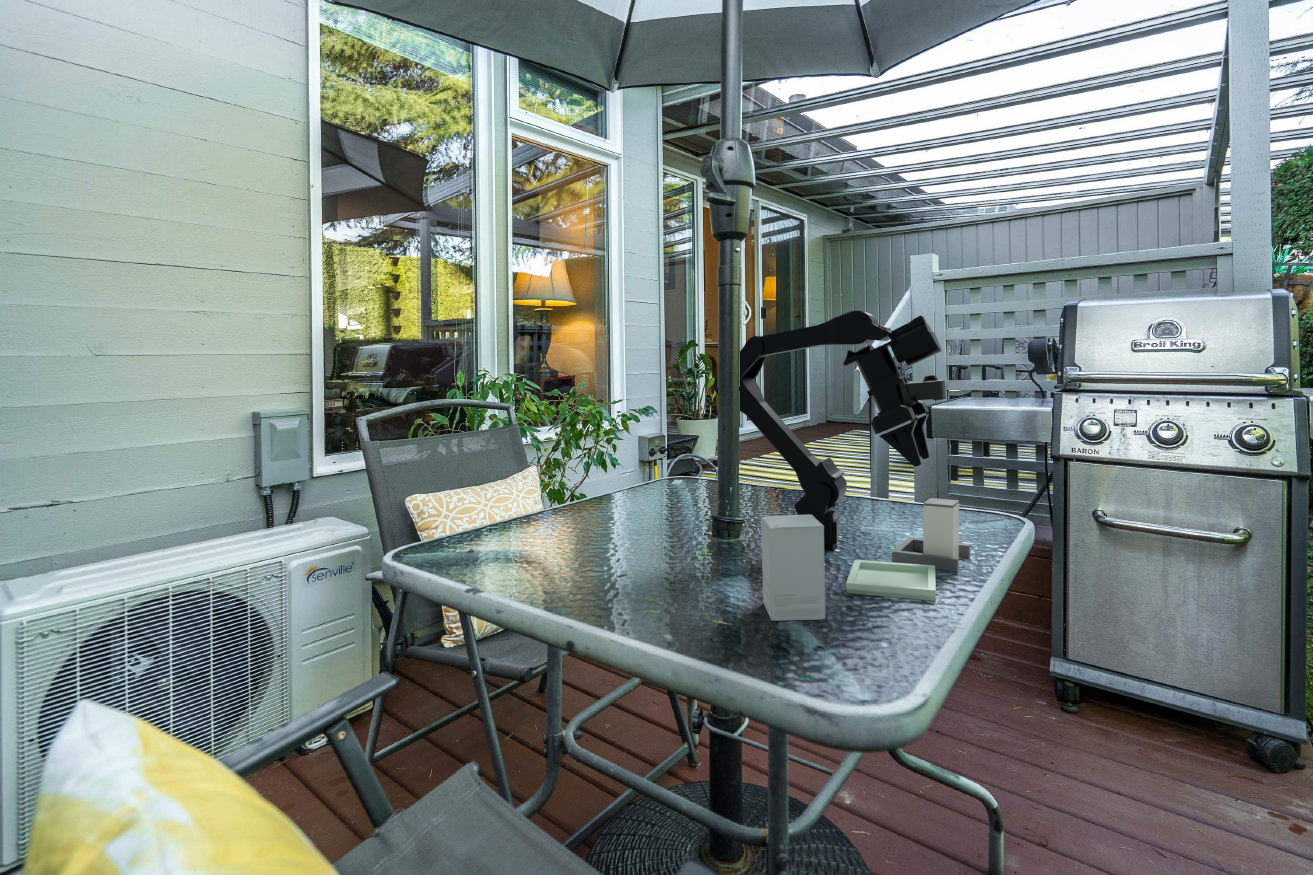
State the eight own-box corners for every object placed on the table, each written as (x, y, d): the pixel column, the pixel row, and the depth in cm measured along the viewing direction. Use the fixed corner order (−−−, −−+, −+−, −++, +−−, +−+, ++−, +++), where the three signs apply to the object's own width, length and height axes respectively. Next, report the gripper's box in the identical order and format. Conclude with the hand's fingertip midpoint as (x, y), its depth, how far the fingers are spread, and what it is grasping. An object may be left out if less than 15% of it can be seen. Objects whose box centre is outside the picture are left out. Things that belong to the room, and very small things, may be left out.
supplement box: (826, 620, 86) (825, 525, 85) (770, 621, 87) (767, 527, 85) (814, 600, 94) (813, 513, 92) (762, 602, 94) (760, 515, 93)
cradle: (892, 563, 109) (892, 551, 109) (908, 548, 117) (908, 537, 117) (957, 571, 103) (957, 559, 103) (970, 555, 111) (970, 544, 111)
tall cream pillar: (923, 562, 109) (923, 503, 108) (930, 555, 113) (930, 498, 112) (952, 566, 106) (953, 505, 105) (958, 559, 110) (959, 500, 109)
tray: (846, 592, 96) (846, 582, 96) (854, 568, 107) (854, 559, 107) (935, 600, 91) (935, 590, 91) (934, 574, 102) (935, 565, 102)
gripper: (920, 357, 101) (965, 450, 99) (936, 357, 117) (975, 437, 115) (853, 388, 107) (894, 477, 105) (877, 384, 123) (913, 461, 121)
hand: (922, 461), depth 111 cm, fingers open, 9 cm apart
